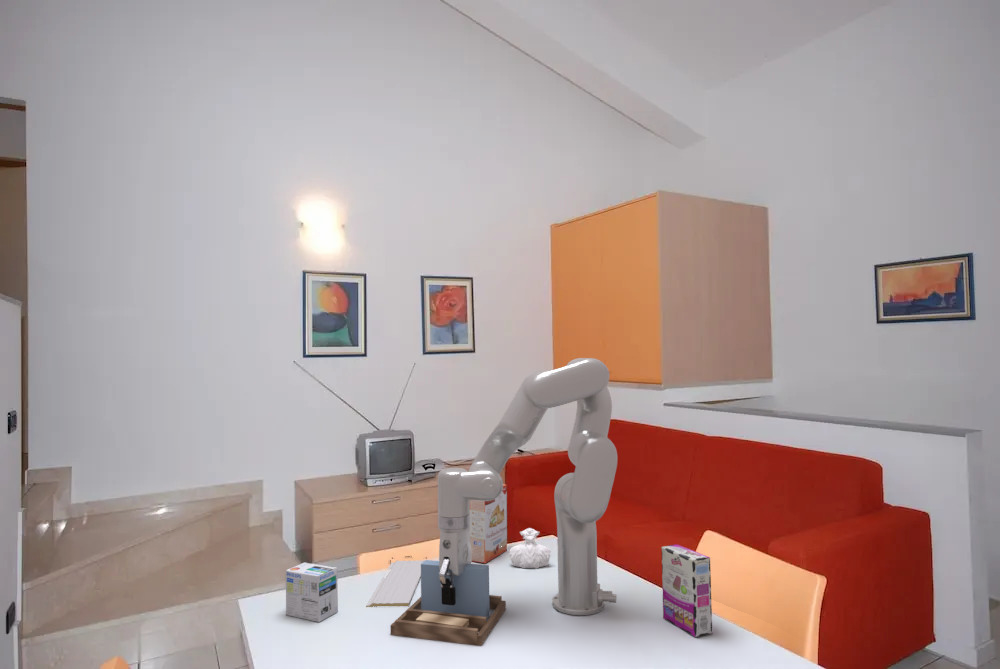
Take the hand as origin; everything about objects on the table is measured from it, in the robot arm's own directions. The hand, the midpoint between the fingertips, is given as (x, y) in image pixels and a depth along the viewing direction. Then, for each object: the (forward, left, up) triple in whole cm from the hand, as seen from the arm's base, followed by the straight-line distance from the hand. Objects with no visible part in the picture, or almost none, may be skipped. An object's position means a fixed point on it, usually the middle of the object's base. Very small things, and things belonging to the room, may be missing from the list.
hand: (455, 597), depth 141 cm
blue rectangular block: (0, 0, -4) cm, 4 cm away
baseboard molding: (+23, -16, -5) cm, 28 cm away
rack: (0, +2, -4) cm, 5 cm away
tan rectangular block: (0, +9, -5) cm, 10 cm away
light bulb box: (+34, +7, -5) cm, 35 cm away
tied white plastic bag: (-9, -38, -5) cm, 39 cm away
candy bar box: (-52, -8, -5) cm, 53 cm away
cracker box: (+5, -43, -5) cm, 44 cm away
